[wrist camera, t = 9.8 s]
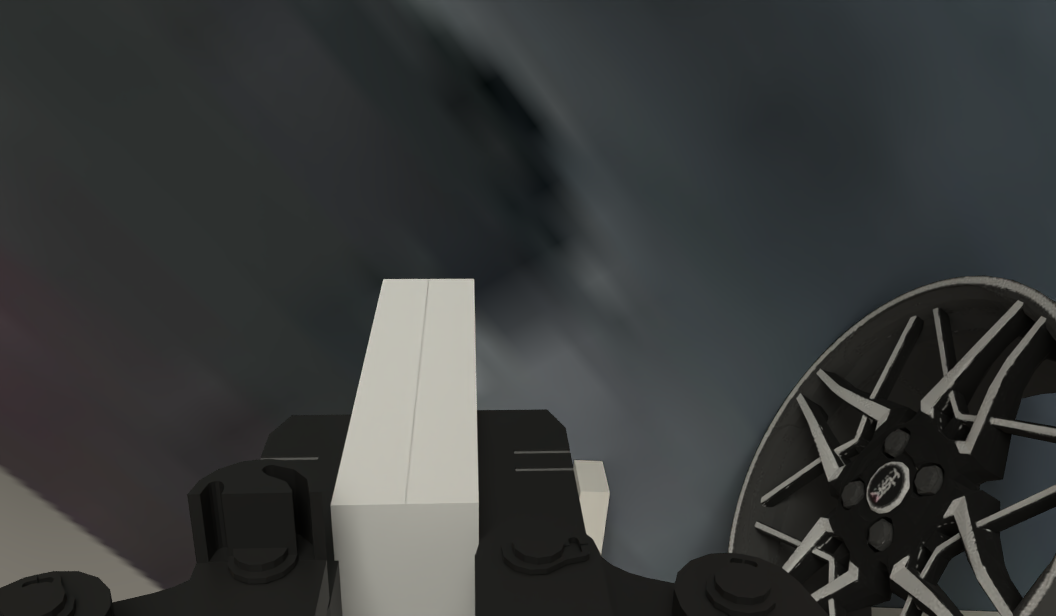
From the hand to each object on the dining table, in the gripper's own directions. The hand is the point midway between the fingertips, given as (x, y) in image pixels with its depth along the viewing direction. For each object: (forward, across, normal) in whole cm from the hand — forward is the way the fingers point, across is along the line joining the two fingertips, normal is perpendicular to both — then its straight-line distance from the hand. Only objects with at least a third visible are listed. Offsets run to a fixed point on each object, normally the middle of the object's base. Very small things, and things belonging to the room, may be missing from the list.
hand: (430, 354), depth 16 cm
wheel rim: (+29, +22, -17) cm, 40 cm away
